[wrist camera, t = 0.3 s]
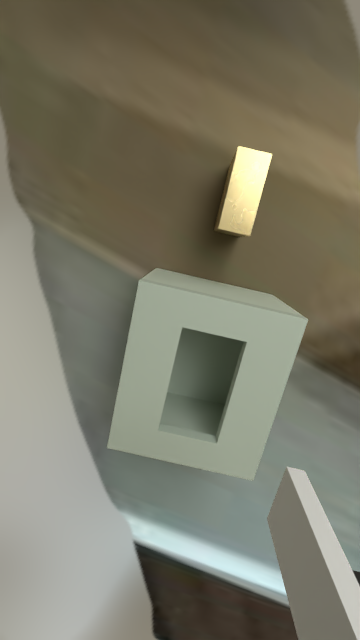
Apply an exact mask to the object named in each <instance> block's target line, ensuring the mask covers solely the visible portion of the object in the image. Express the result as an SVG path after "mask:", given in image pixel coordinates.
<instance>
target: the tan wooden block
mask: <svg viewBox="0 0 360 640" xmlns="http://www.w3.org/2000/svg"><path fill="white" fill-rule="evenodd" d="M271 157H272V154H270V153H266V152H262V151H257V150H253V149H249V148H245V147H240V146H238V148H237V150H236V153H235V155H234V157H233V159H232V161H231V163H230V166H229V170H228V174H227V178H226V182H225V186H224V191H223V195H222V199H221V203H220V207H219V211H218V215H217V219H216V223H215V228H214V231H216V232H220V233H224V234H229V235H233V236H237V237H245V236H250V234H251V230H252V227H253V223H254V219H255V216H256V212H257V208H258V205H259V201H260V197H261V194H262V190H263V186H264V183H265V179H266V175H267V172H268V168H269V164H270V161H271Z"/></svg>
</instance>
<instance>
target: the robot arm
mask: <svg viewBox="0 0 360 640" xmlns="http://www.w3.org/2000/svg"><path fill="white" fill-rule="evenodd" d="M267 520H268V524H269V528H270V532H271V536H272V539H273V543H274V547H275V551H276V555H277V559H278V563H279V566H280V570H281V574H282V578H283V582H284V586H285V589H286V593H287V597H288V601H289V605H290V609H291V612H292V616H293V620H294V624H295V628H296V632H297V635H298V639H299V640H360V572H357V571H353V570H352V569H351V567H350V565H349V563H348V560H347V558H346V556H345V554H344V552H343V550H342V548H341V546H340V544H339V542H338V540H337V537H336V535H335V533H334V531H333V529H332V527H331V525H330V523H329V521H328V519H327V516H326V514H325V512H324V510H323V508H322V506H321V504H320V502H319V500H318V498H317V496H316V493H315V491H314V489H313V487H312V485H311V483H310V481H309V479H308V477H307V475H306V472H305V471H303V470H299V469H295V468H290V467H286V470H285V473H284V475H283V478H282V481H281V483H280V486H279V488H278V491H277V494H276V496H275V499H274V502H273V504H272V507H271V510H270V512H269V515H268V517H267Z"/></svg>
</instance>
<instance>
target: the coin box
mask: <svg viewBox="0 0 360 640" xmlns="http://www.w3.org/2000/svg"><path fill="white" fill-rule="evenodd" d="M307 322H308V319H307V318H305V317H304V316H303V315H301V314H300V313H298V312H297V311H295V310H294V309H292V308H291V307H290V306H288V305H287V304H285V303H284V302H282V301H281V300H279V299H278V298H276V297H275V296H274V295H272V294H267V293H263V292H259V291H255V290H250V289H246V288H242V287H237V286H233V285H229V284H224V283H220V282H216V281H211V280H207V279H203V278H198V277H194V276H190V275H185V274H181V273H177V272H173V271H168V270H164V269H160V268H156V269H154V270H153V271H151V272H150V273H149V274H147V275H146V276H144V277H143V278H142V279H140V280H139V283H138V288H137V294H136V299H135V304H134V309H133V314H132V320H131V325H130V330H129V335H128V341H127V346H126V351H125V356H124V361H123V367H122V372H121V377H120V382H119V387H118V393H117V398H116V403H115V408H114V413H113V419H112V424H111V429H110V434H109V440H108V445H107V448H109V449H114V450H118V451H123V452H127V453H132V454H136V455H140V456H145V457H149V458H154V459H158V460H163V461H167V462H172V463H176V464H181V465H185V466H190V467H194V468H198V469H203V470H207V471H212V472H216V473H221V474H225V475H230V476H234V477H239V478H243V479H247V480H252V481H253V480H254V477H255V474H256V471H257V468H258V465H259V462H260V459H261V456H262V453H263V450H264V447H265V444H266V442H267V439H268V436H269V433H270V430H271V427H272V424H273V421H274V418H275V415H276V412H277V409H278V406H279V404H280V401H281V398H282V395H283V392H284V389H285V386H286V383H287V380H288V377H289V374H290V371H291V368H292V366H293V363H294V360H295V357H296V354H297V351H298V348H299V345H300V342H301V339H302V336H303V333H304V330H305V328H306V325H307Z"/></svg>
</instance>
